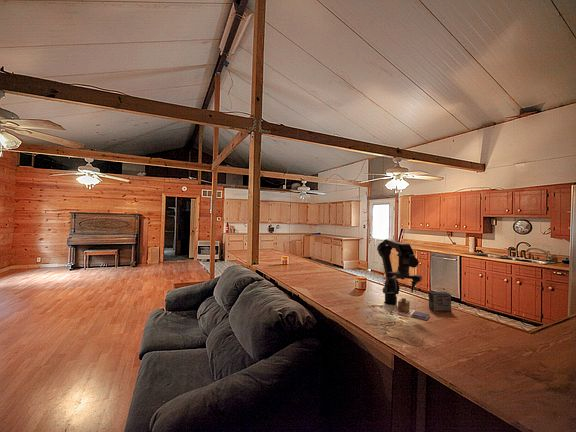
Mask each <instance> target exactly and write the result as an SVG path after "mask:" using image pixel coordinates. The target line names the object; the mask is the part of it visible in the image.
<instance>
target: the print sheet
mask: <svg viewBox="0 0 576 432" xmlns="http://www.w3.org/2000/svg"><path fill="white" fill-rule="evenodd" d="M414 311H417V310H415V309H410V308H409V312H408V313H403V312H399V311H398V306H397V307H396V308H395V309H393V310H392V311H391V313H392V314H397V315H401V316H405V317H411V314H412V313H413V312H414Z"/></svg>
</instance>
